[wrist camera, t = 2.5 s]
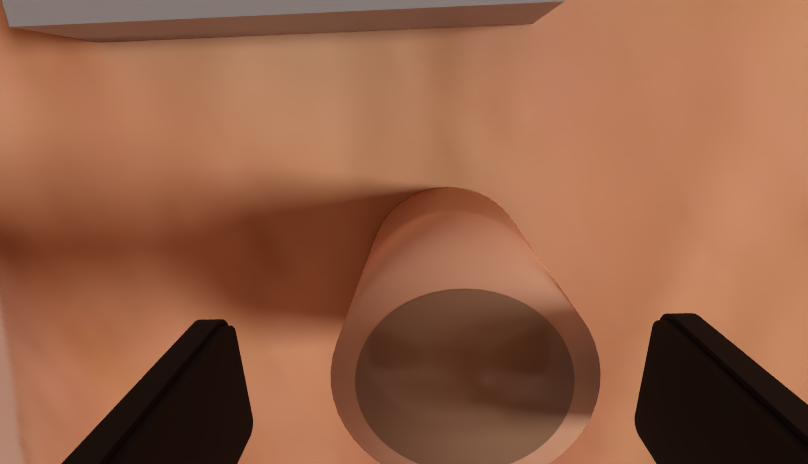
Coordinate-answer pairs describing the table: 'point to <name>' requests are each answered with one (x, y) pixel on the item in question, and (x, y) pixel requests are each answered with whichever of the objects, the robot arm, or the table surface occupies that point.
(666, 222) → the table surface
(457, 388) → the terracotta cup
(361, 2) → the grey tray
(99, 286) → the table surface
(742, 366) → the robot arm
